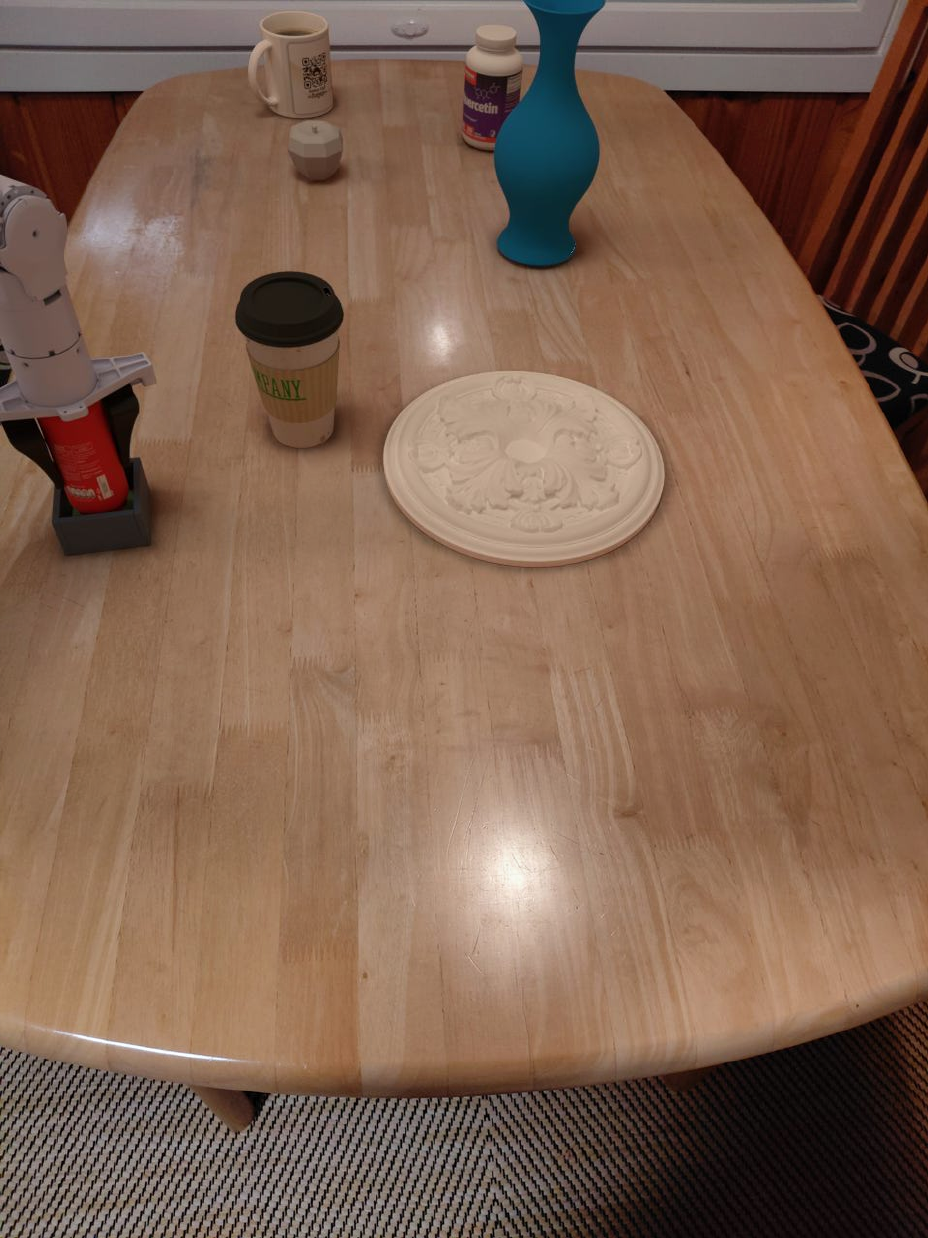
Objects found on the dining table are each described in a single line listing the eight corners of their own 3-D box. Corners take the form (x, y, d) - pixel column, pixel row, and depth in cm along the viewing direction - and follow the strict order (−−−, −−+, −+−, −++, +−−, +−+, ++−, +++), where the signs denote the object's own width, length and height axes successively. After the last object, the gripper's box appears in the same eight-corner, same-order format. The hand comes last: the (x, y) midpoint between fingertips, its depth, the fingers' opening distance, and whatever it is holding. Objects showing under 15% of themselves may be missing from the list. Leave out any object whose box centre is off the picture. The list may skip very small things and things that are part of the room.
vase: (602, 262, 117) (645, 11, 96) (514, 283, 114) (538, 25, 92) (556, 217, 124) (586, -28, 102) (471, 234, 120) (484, -16, 99)
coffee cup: (247, 405, 97) (224, 274, 85) (339, 391, 99) (329, 261, 88) (263, 467, 91) (241, 335, 80) (361, 450, 93) (353, 320, 82)
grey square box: (65, 555, 83) (51, 523, 80) (68, 498, 88) (55, 465, 84) (150, 545, 84) (140, 512, 81) (149, 489, 89) (139, 456, 86)
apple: (333, 193, 126) (330, 143, 120) (279, 182, 127) (274, 132, 122) (355, 167, 130) (353, 118, 125) (303, 156, 132) (299, 107, 126)
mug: (335, 120, 139) (330, 38, 131) (253, 121, 138) (243, 38, 129) (331, 90, 146) (326, 10, 137) (254, 91, 144) (243, 10, 136)
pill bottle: (450, 141, 137) (454, 31, 125) (483, 123, 141) (489, 15, 129) (495, 158, 134) (502, 48, 122) (527, 140, 138) (537, 31, 127)
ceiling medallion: (549, 616, 81) (553, 593, 79) (324, 466, 92) (322, 441, 89) (715, 459, 95) (723, 435, 92) (503, 344, 106) (505, 320, 103)
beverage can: (59, 509, 83) (15, 401, 74) (98, 475, 86) (60, 366, 77) (106, 530, 82) (66, 422, 72) (143, 494, 85) (110, 386, 75)
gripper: (-46, 394, 66) (17, 528, 76) (153, 337, 71) (187, 470, 82) (-69, 341, 69) (-5, 477, 80) (122, 291, 75) (158, 424, 85)
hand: (90, 470), depth 81 cm, fingers closed on beverage can, 5 cm apart
